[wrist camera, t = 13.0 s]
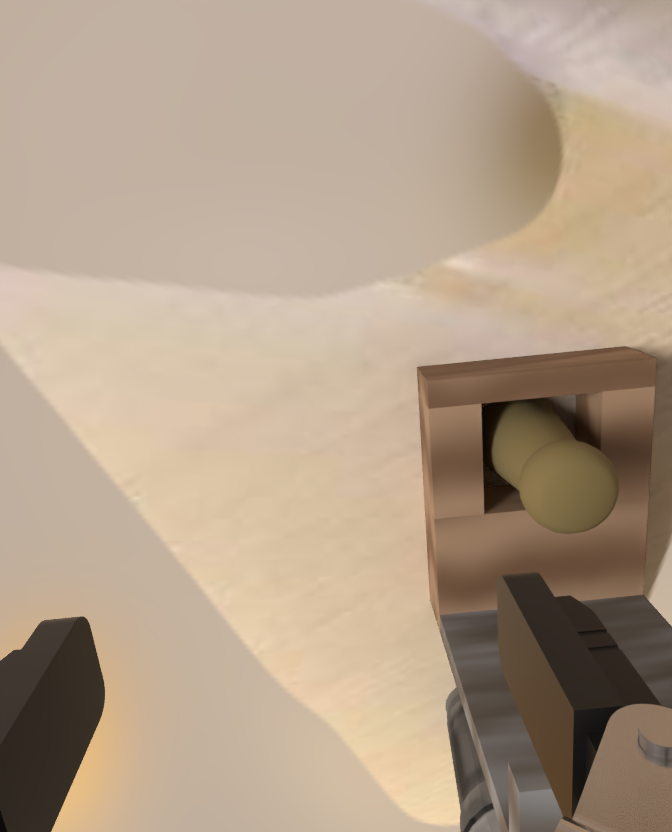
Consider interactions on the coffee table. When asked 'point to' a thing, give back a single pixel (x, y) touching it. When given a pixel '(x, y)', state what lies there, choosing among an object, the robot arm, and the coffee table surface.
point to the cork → (548, 465)
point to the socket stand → (535, 545)
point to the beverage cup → (468, 773)
